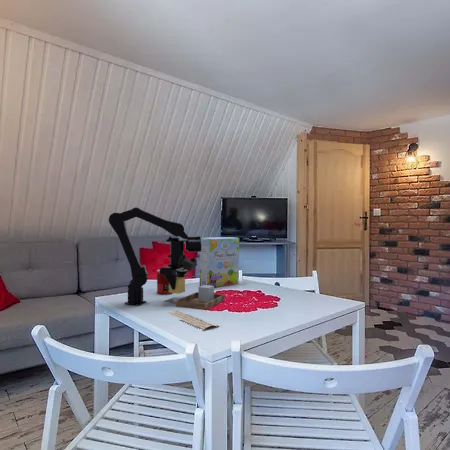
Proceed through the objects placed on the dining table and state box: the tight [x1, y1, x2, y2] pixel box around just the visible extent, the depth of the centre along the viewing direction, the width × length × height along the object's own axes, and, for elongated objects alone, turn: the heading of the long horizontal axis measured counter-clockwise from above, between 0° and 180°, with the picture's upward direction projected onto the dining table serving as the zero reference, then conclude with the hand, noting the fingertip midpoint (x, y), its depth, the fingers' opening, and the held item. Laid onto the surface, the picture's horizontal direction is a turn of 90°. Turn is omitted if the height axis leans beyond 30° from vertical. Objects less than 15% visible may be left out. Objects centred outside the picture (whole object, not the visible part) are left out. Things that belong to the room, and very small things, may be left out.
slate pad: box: [163, 296, 182, 304], centre depth 151 cm, size 8×8×1 cm
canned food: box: [156, 269, 173, 295], centre depth 169 cm, size 8×8×11 cm
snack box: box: [199, 236, 240, 288], centre depth 189 cm, size 22×9×26 cm, turn 132°
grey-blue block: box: [197, 285, 215, 302], centre depth 151 cm, size 5×5×6 cm
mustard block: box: [169, 277, 186, 295], centre depth 151 cm, size 5×5×6 cm
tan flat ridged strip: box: [168, 310, 218, 331], centre depth 123 cm, size 24×7×2 cm, turn 39°
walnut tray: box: [175, 291, 226, 311], centre depth 147 cm, size 18×14×3 cm
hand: (176, 288), depth 151 cm, fingers closed on mustard block, 5 cm apart
